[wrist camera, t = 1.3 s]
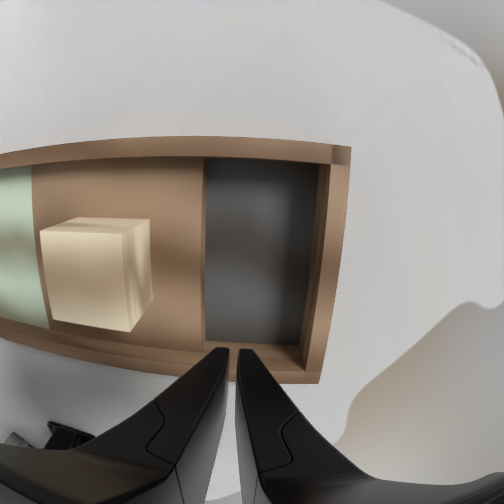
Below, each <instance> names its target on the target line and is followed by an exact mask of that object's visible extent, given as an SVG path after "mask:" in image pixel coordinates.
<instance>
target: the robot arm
mask: <svg viewBox="0 0 504 504" xmlns="http://www.w3.org/2000/svg"><path fill="white" fill-rule="evenodd" d="M229 369H230V349H229V348H227V347H215V348H214V349H213V350H212V351H210V352H209V353H208V354H207V355H206V356H205V357H203V358H202V359H201V360H200V361H199V362H198V363H196V364H195V365H194V366H193V367H192V368H191V369H189V370H188V371H187V372H186V373H185V374H183V375H182V376H181V377H180V378H179V379H177V380H176V381H175V382H174V383H173V384H171V385H170V386H169V387H168V388H167V389H165V390H164V391H163V392H162V393H160V394H159V395H158V396H157V397H156V398H154V401H153V400H152V401H150V402H149V403H148V404H147V405H146V406H144V407H143V408H142V409H140V410H139V411H138V412H136V413H135V414H134V415H132V416H131V417H129V418H128V419H126V420H124V421H123V422H121V423H120V424H118V425H116V426H115V427H113V428H111V429H110V430H108V431H106V432H104V433H103V434H101V435H99V436H97V437H96V438H95V437H94V436H93V435H90V434H86V433H83V432H80V431H77V430H74V429H70V428H68V427H65V426H62V425H59V424H56V423H53V422H50V421H49V422H48V424H47V425H48V427H49V429H50V431H51V433H52V436H51V437H50V439H49V440H48V442H47V443H46V445H45V447H44V448H43V449H37V448H28V447H20V446H14V445H7V444H1V443H0V504H204V502H205V498H206V494H207V490H208V486H209V482H210V478H211V474H212V470H213V466H214V462H215V458H216V453H217V449H218V445H219V441H220V437H221V433H222V429H223V425H224V420H225V415H226V405H227V394H228V383H229ZM235 429H236V441H237V452H238V463H239V474H240V484H241V494H242V503H243V504H504V472H496V473H492V474H489V475H487V476H484V477H482V478H480V479H478V480H475V481H472V482H469V483H464V484H457V485H429V484H416V483H404V482H395V481H388V480H381V479H377V478H374V477H372V476H370V475H368V474H366V473H364V472H363V471H362V470H360V469H359V468H358V467H357V466H355V465H354V464H353V463H352V462H351V461H350V460H348V459H347V458H346V457H345V456H344V455H343V454H341V453H340V452H339V451H338V450H337V449H336V448H334V446H332V445H331V444H330V443H329V442H328V441H327V440H326V439H325V438H324V437H323V436H322V435H321V434H320V433H319V432H318V431H317V430H316V429H315V428H314V427H313V426H312V425H311V424H310V422H309V421H308V420H307V419H306V418H305V416H304V415H303V414H302V413H301V412H300V411H299V409H298V408H297V406H296V405H295V404H294V403H293V401H292V400H291V399H290V398H289V396H288V395H287V394H286V392H285V391H284V390H283V389H282V387H281V386H280V385H279V383H278V382H277V381H276V380H275V378H274V377H273V376H272V374H271V373H270V372H269V370H268V369H267V368H266V366H265V365H264V364H263V362H262V361H261V360H260V358H259V357H258V356H257V354H256V353H255V352H254V350H253V349H244V348H241V349H239V351H238V359H237V369H236V397H235Z"/></svg>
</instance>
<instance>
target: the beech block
mask: <svg viewBox="0 0 504 504" xmlns="http://www.w3.org/2000/svg"><path fill="white" fill-rule="evenodd" d="M40 240H41V250H42V258H43V266H44V273H45V279H46V285H47V291H48V297H49V302H50V307H51V312H52V317H53V319H55V320H60V321H65V322H70V323H76V324H81V325H87V326H93V327H99V328H105V329H111V330H118V331H125V332H131V330H132V329H133V328H134V326H135V325H136V323H137V322H138V321H139V319H140V318H141V316H142V315H143V314H144V312H145V311H146V309H147V308H148V307H149V305H150V304H151V303H152V301H153V293H152V276H151V253H150V219H129V218H83V217H77V218H74V219H71V220H68V221H66V222H63V223H60V224H57V225H54V226H52V227H49V228H46V229H43V230H41V231H40Z"/></svg>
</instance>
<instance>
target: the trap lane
mask: <svg viewBox="0 0 504 504" xmlns="http://www.w3.org/2000/svg"><path fill="white" fill-rule="evenodd" d="M350 161H351V147H348V146H340V145H332V144H324V143H315V142H305V141H294V140H281V139H267V138H249V137H221V136H167V137H139V138H122V139H108V140H96V141H86V142H76V143H68V144H60V145H52V146H45V147H38V148H32V149H26V150H20V151H14V152H9V153H4V154H0V337H1V338H4V339H7V340H11V341H14V342H17V343H20V344H23V345H27V346H30V347H33V348H37V349H40V350H44V351H48V352H52V353H55V354H59V355H63V356H67V357H71V358H76V359H80V360H84V361H89V362H94V363H98V364H103V365H108V366H114V367H119V368H124V369H130V370H136V371H142V372H149V373H156V374H163V375H170V376H178V377H181V376H182V375H183V374H185V373H186V372H187V371H188V370H189V369H191V368H192V367H193V366H194V365H195V364H196V363H198V362H199V361H200V360H201V359H202V358H203V357H205V356H206V355H207V354H208V353H209V352H210V351H212V350H213V349H214V348H215V347H227V348H229V349H230V369H229V381H232V382H236V369H237V359H238V351H239V349H241V348H244V349H253V350H254V352H255V353H256V354H257V356H258V357H259V358H260V360H261V361H262V362H263V364H264V365H265V366H266V368H267V369H268V370H269V372H270V373H271V374H272V376H273V377H274V378H275V380H276V381H277V382H278V383H279V384H319V380H320V375H321V370H322V366H323V361H324V356H325V351H326V346H327V341H328V335H329V330H330V324H331V319H332V313H333V307H334V301H335V295H336V288H337V282H338V275H339V268H340V261H341V253H342V245H343V237H344V228H345V219H346V209H347V199H348V188H349V175H350ZM77 217H83V218H129V219H150V253H151V276H152V293H153V301H152V303H151V304H150V305H149V307H148V308H147V309H146V311H145V312H144V314H143V315H142V316H141V318H140V319H139V321H138V322H137V323H136V325H135V326H134V328H133V329H132V330H131V332H125V331H118V330H111V329H105V328H99V327H93V326H87V325H81V324H76V323H70V322H65V321H60V320H55V319H53V317H52V312H51V307H50V302H49V297H48V291H47V285H46V279H45V273H44V266H43V258H42V250H41V240H40V231H41V230H43V229H46V228H49V227H52V226H54V225H57V224H60V223H63V222H66V221H68V220H71V219H74V218H77Z"/></svg>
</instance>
